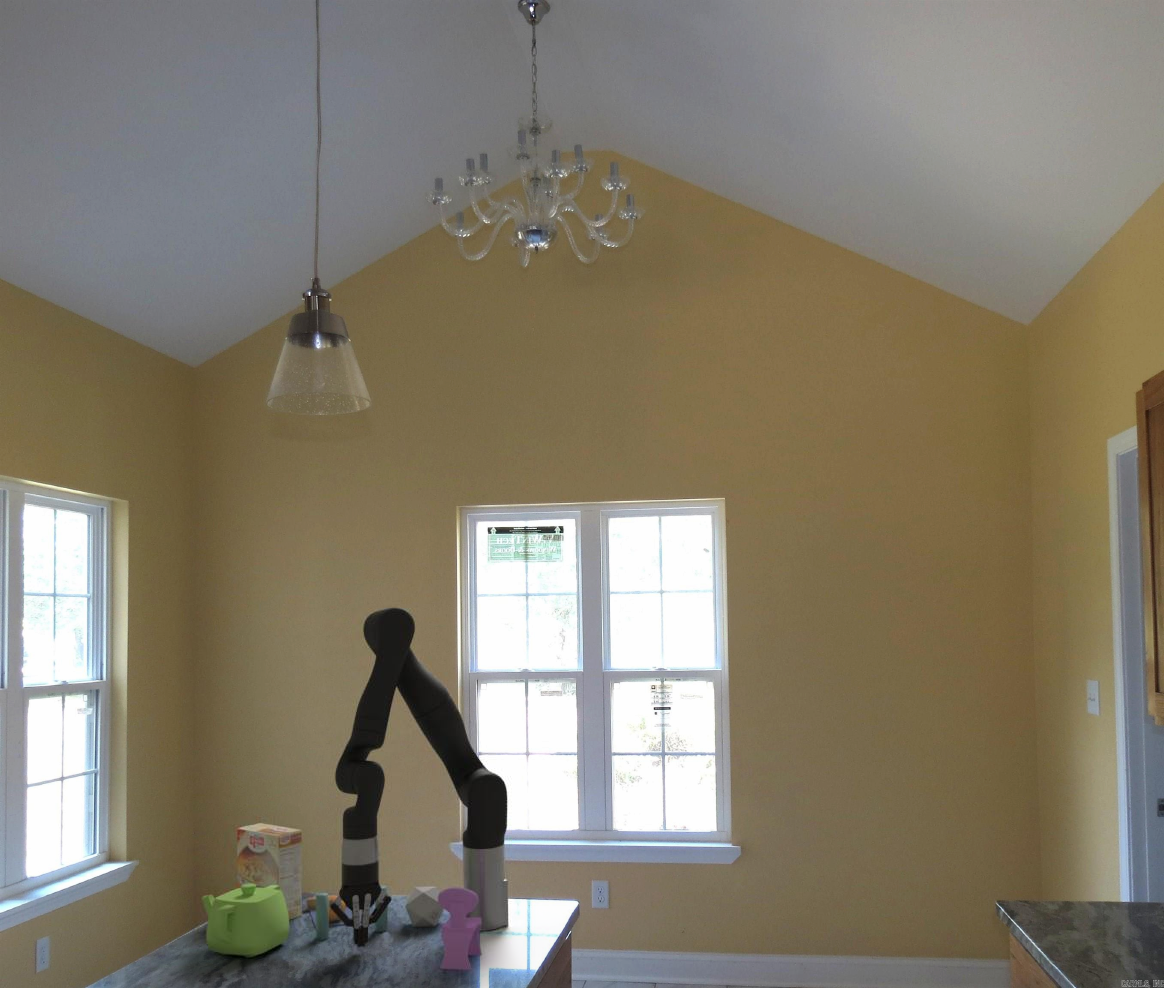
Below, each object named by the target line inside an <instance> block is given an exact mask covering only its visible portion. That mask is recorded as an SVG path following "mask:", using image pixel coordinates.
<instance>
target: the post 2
mask: <svg viewBox="0 0 1164 988" xmlns="http://www.w3.org/2000/svg"><path fill="white" fill-rule="evenodd" d="M380 886H381V889H382V891H383V892H384V893H388V886H387V885H380ZM378 899H379V897H378V898H377V900H376V901H375V903H374V904H375V905H374V906H375V907H374V909H375V908H376V906H377V905H378V903H379V901H378ZM374 924H375V925H374V927H375V928H374V929H375V930H374V931H375V932H376V933H377V932H378V933H381V932H382V933H383V932H387V931H388V906H387V907H386V909H385V910H384V912H383V913H382V915H381V916H380V918H379V919H378V921H377V922H376V923H374Z"/></svg>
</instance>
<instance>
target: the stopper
mask: <svg viewBox="0 0 1164 988" xmlns="http://www.w3.org/2000/svg"><path fill="white" fill-rule="evenodd" d="M329 896H339V893H335V894H329ZM345 906H346V904H345ZM314 909H316V896H311V897H306V911H307V912H310V910H314Z"/></svg>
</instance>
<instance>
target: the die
mask: <svg viewBox="0 0 1164 988" xmlns="http://www.w3.org/2000/svg"><path fill="white" fill-rule="evenodd" d="M440 892H441V891H440V890H439V888H438V886H414V887H413V890H412V891H411V893H410V896H409V898H408V900H407V901H406V903H405V905H404V908H405V909H406V912H407V914H408V917H409V920H410V922H411V925H412V927H413V928H414V927H415V928H417V927H436V926H437V924H438V923H439V920H440V918H441V916H442V914H443V912H444V910H445V909H444V908H443V907H441V906H440V904H439V903H438V895H439V893H440Z"/></svg>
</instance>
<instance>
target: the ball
mask: <svg viewBox="0 0 1164 988" xmlns="http://www.w3.org/2000/svg"><path fill="white" fill-rule="evenodd" d="M337 897H338V896H329V903H330V901H332V900H335V899H336V898H337ZM341 903H342V908H341V909H342V910H343V912H344V913H345V903H344V902H343V900H342V901H341ZM339 919H340V918H339V917H338V916H337V915H336V914H335V913H334V911H333V910H332V909H331V907H330V905H329V922H335V921H337V920H339Z"/></svg>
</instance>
